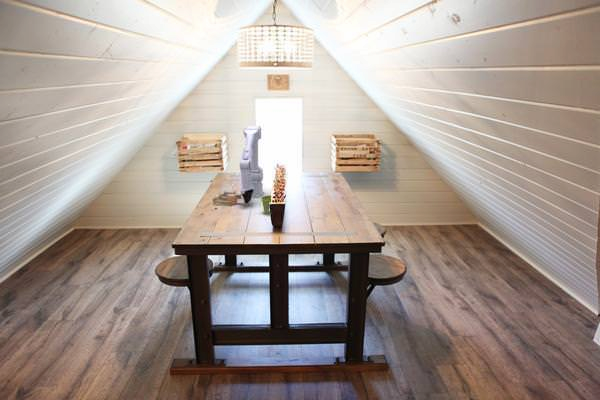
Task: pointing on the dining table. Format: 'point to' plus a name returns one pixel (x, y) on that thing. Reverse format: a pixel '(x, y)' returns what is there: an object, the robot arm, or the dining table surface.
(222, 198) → the lane shelf
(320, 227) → the dining table surface
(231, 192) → the grey block
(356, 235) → the dining table surface
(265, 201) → the plant pot
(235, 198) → the tethered block
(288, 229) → the dining table surface
